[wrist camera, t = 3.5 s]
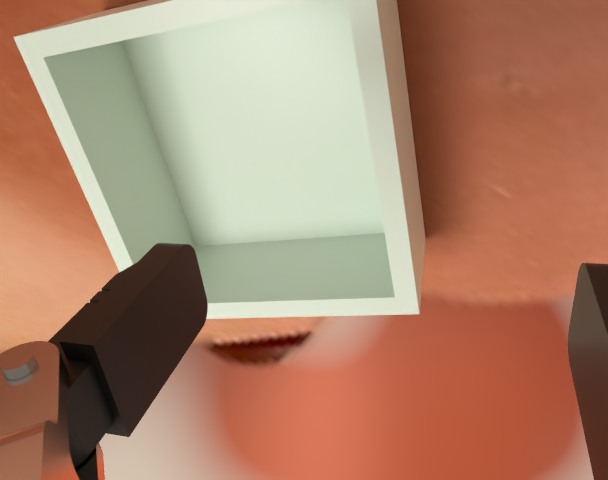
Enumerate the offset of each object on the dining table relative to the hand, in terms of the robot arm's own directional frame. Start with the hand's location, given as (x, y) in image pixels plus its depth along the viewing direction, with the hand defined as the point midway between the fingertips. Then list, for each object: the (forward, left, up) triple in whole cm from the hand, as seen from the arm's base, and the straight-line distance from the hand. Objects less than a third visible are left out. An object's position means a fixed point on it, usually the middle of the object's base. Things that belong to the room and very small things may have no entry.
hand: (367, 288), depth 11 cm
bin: (+2, -8, -18) cm, 19 cm away
